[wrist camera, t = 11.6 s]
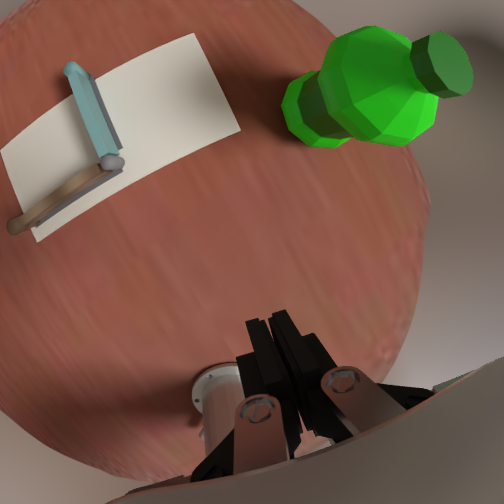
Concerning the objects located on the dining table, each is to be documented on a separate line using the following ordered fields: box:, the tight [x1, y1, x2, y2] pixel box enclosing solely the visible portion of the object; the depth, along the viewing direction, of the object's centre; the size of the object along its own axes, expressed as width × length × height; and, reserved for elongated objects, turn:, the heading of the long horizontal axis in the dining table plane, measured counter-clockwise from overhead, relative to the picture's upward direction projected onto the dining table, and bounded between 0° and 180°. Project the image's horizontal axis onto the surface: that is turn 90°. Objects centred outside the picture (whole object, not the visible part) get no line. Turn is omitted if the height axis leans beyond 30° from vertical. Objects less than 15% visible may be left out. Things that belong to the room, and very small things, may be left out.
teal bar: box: [63, 62, 125, 170], centre depth 28 cm, size 15×2×5 cm, turn 24°
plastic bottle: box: [281, 26, 473, 148], centre depth 24 cm, size 10×10×25 cm
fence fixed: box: [7, 163, 113, 235], centre depth 30 cm, size 14×2×6 cm, turn 114°
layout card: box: [0, 33, 241, 243], centre depth 32 cm, size 31×16×1 cm, turn 114°
